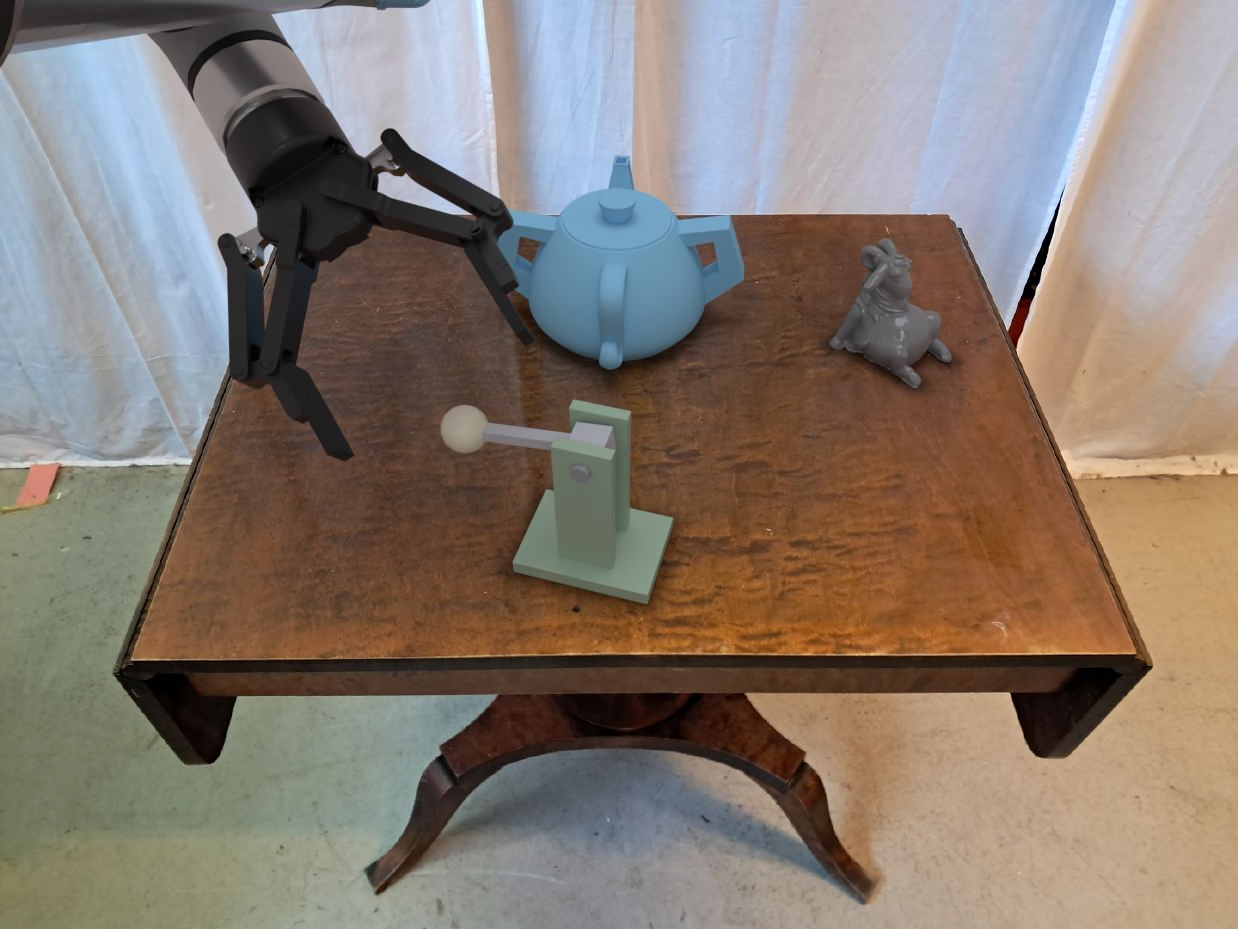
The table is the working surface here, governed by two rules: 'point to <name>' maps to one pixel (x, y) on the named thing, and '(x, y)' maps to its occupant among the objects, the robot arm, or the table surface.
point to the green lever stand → (594, 517)
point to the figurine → (890, 317)
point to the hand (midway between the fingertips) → (433, 397)
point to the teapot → (620, 270)
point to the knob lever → (512, 432)
